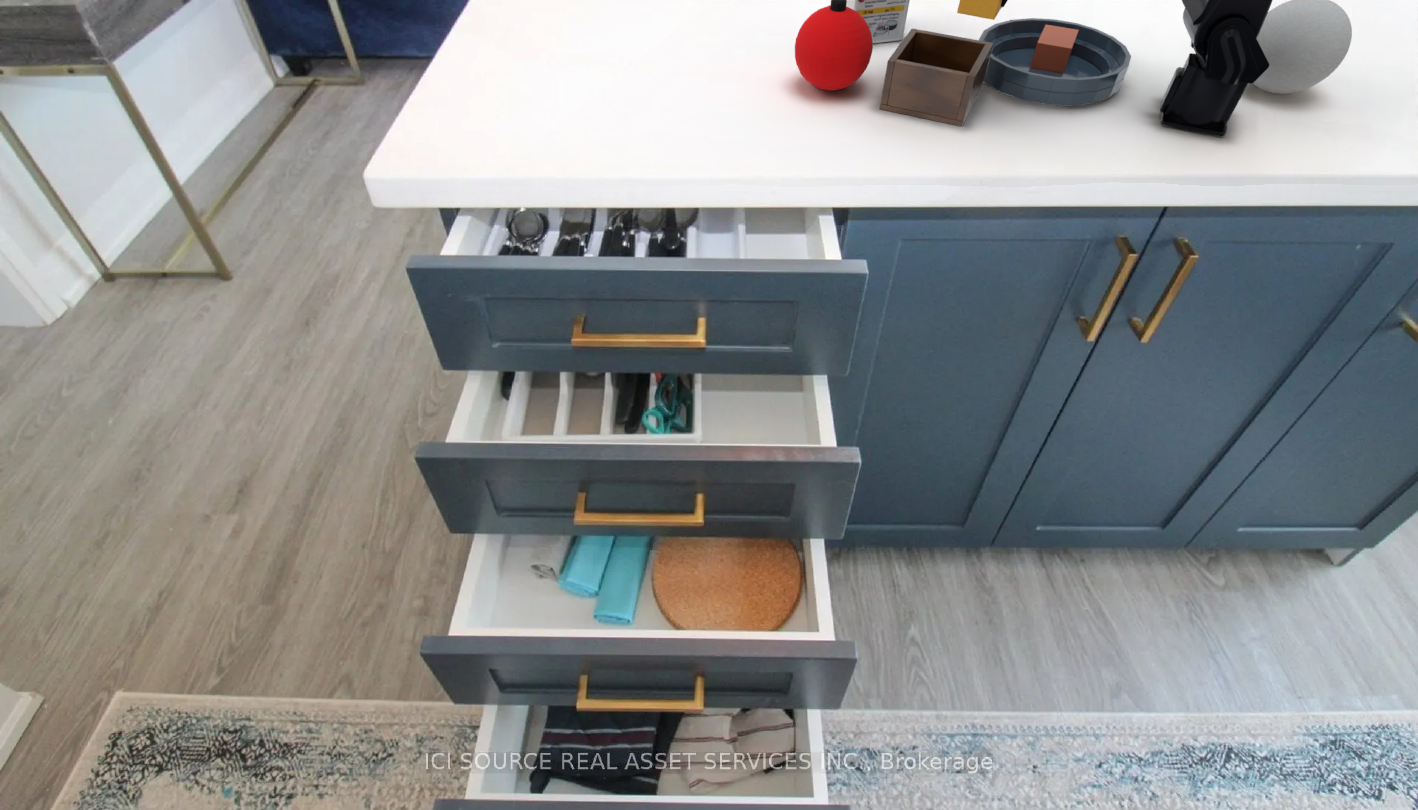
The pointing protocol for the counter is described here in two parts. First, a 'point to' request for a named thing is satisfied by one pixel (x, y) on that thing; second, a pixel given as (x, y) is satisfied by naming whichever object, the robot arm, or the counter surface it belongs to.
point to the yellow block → (980, 8)
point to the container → (883, 17)
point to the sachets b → (1054, 48)
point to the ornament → (833, 47)
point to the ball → (1302, 44)
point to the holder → (935, 76)
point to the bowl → (1083, 81)
